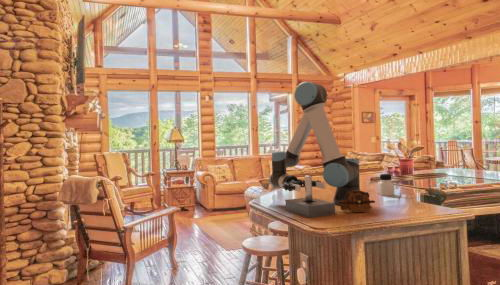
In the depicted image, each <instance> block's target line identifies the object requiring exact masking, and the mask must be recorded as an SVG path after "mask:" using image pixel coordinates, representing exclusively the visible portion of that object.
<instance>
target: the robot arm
mask: <svg viewBox="0 0 500 285" xmlns="http://www.w3.org/2000/svg"><path fill="white" fill-rule="evenodd" d="M294 99H295V100H294V101H296V103H297V104H298V105H300V107H301V110H302V112H303V113H302V116H301V118H300V120H299V122H298V125H297V126H296V129H295V131H294V133H293V135H292V138H291V140H290V142H289V145H288V146H287V149H286V150H285V151H284V150H281V151H280V150H279V151H273V152H271V169H272V170H271V174H270V176H269V179H268V180H269V184H270V185H271V186H272V187H274V188H276V189H282V190H285V191H288V192H292V191H295V192H302V190H301V188H305V179H298V177H297V176H295V175H290V174H287V169H288V168H293V167H295V166H298V164H299V163H300V156H301V152H302V151H303V148H304V146H305V144H306V142H307V139H308V138H309V136H310V133H311V131H312V130H313V133H314V136H315V140H316V141H317V145H318V147H319V150H320V153H321V156H322V158H323V159H322V163H321V164H322V167H323V171H322V177H323V180H324V182H322V181H321V180H319V179H317V180H312V188H313V187H314V188H316V189H317V188H318V189H323V190H325V189H326V184H327V185H329V186H330V187H333V188H336V189H335V192H334V196H333V201H332V203H335V205H339V206H340V204H338V202H339V201H341V200H347V198H346V193H347V192H351V191H354V190H359V191H362V190H361V187H360V162H359V159H357V158H350V157H349V158H346V155H344V154H343V153H341V151H340V148H339V145H338V142H337V141H336V137H335V135H334V132H333V130H332V127H331V124H330V121H329V119H328V116H327V113H326V110H325V106H326V104H327V103H326V102H327V99H328V93H327V90H326V88H325V86H323V85H321V84H319V83H314V82H311V81H303V82H301V83H299V84H298V85H297V86H296V88H295V91H294Z"/></svg>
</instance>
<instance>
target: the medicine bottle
mask: <svg viewBox="0 0 500 285" xmlns="http://www.w3.org/2000/svg"><path fill="white" fill-rule="evenodd" d="M377 194H378V195H380V196H382V197H385V196H387V197H388V196H392V197H393V196H395V183H394V182H393V181H392V175H391V174H390V173H381V174H380V175H379V181H378V182H377Z"/></svg>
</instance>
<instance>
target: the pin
mask: <svg viewBox="0 0 500 285" xmlns="http://www.w3.org/2000/svg"><path fill="white" fill-rule="evenodd" d="M304 180H305V187H304V195H305V197H304V198H305V199H306V202H307V203H310V202H313V201H312V198H313V187H312V181H313V178H312V175H309V174H308V175H304Z"/></svg>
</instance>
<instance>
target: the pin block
mask: <svg viewBox="0 0 500 285" xmlns="http://www.w3.org/2000/svg"><path fill="white" fill-rule="evenodd" d="M312 201H313V202H310V203H307V202H306V199H305V197H301V198H300V197H298V198H290V199H285V211H287V212H290V213H293V214H296V215H300V216H303V217H305V218H308V219H310V218H317V217H323V216H333V215H335V214H336V204H335V203H334V202H333V201H328V200H324V199H321V198H320V199H318V198H315V197H312Z"/></svg>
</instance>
